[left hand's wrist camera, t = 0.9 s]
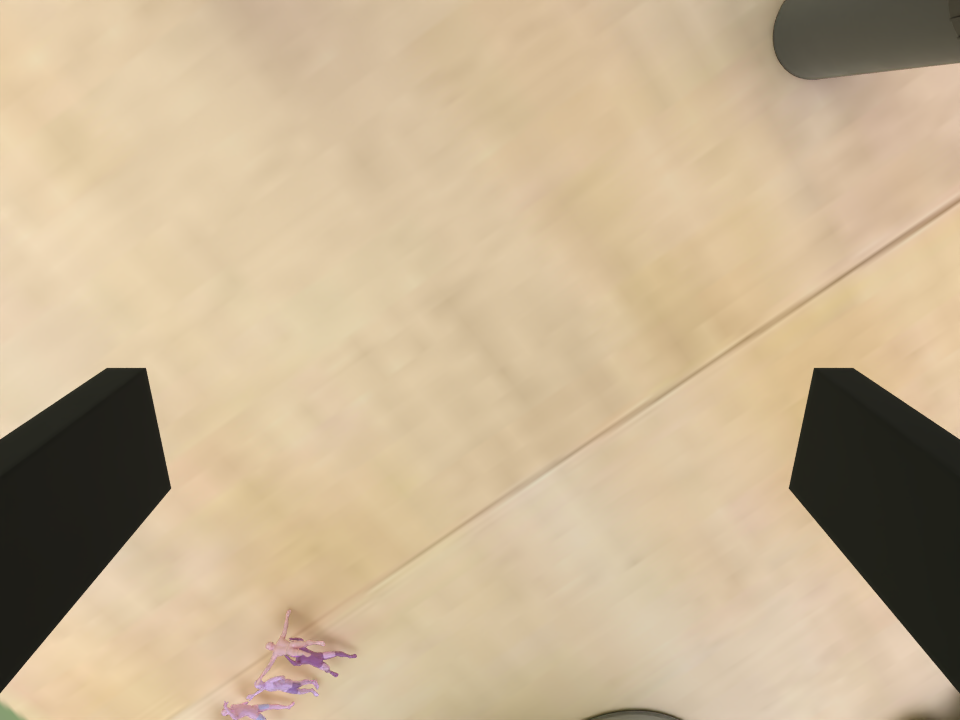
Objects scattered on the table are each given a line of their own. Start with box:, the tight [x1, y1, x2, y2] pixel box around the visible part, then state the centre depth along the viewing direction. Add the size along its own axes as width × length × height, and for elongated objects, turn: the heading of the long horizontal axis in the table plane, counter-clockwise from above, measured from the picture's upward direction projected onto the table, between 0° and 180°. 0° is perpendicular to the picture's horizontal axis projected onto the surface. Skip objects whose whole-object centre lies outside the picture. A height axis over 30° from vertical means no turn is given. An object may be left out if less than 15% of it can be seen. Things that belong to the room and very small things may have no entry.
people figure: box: [221, 609, 357, 720], centre depth 50 cm, size 18×6×8 cm
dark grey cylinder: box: [773, 0, 960, 80], centre depth 27 cm, size 5×5×16 cm
